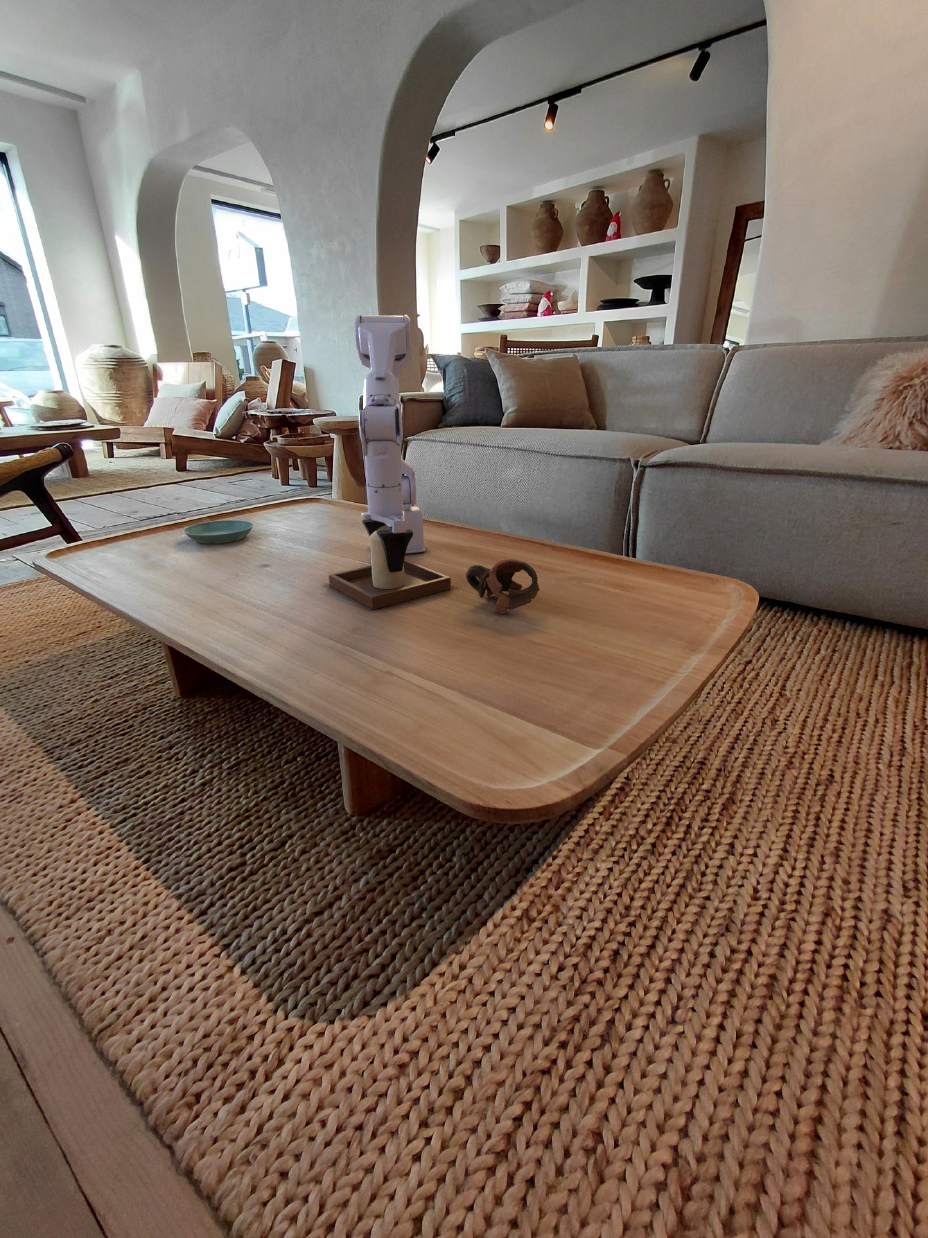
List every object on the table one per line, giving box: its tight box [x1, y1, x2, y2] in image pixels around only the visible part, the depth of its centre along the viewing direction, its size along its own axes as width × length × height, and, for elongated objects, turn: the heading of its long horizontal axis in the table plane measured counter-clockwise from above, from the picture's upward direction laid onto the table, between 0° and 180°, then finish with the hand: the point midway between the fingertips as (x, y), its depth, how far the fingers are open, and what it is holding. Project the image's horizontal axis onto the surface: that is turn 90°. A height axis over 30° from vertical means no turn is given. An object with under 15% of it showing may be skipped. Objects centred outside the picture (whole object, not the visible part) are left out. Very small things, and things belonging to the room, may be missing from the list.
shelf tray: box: [328, 558, 452, 611], centre depth 100 cm, size 16×15×2 cm
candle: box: [369, 525, 405, 589], centre depth 98 cm, size 6×6×10 cm
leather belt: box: [465, 558, 540, 615], centre depth 91 cm, size 12×10×8 cm
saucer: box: [183, 519, 254, 545], centre depth 131 cm, size 15×15×3 cm
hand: (388, 565), depth 99 cm, fingers open, 7 cm apart
